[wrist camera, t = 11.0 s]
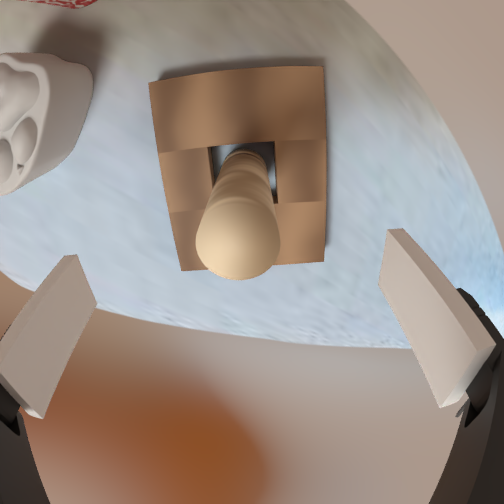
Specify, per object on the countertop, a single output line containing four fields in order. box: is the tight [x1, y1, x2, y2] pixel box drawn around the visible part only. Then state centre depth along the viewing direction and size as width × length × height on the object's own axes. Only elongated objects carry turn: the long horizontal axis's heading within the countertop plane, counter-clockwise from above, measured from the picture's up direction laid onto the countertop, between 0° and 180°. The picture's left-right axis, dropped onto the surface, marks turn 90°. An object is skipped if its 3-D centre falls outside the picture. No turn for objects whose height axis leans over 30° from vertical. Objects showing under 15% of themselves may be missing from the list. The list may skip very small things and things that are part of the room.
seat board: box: [148, 66, 326, 271], centre depth 25 cm, size 14×18×2 cm
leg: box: [196, 149, 281, 280], centre depth 20 cm, size 4×4×14 cm
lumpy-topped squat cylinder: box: [0, 53, 93, 196], centre depth 19 cm, size 10×13×9 cm
